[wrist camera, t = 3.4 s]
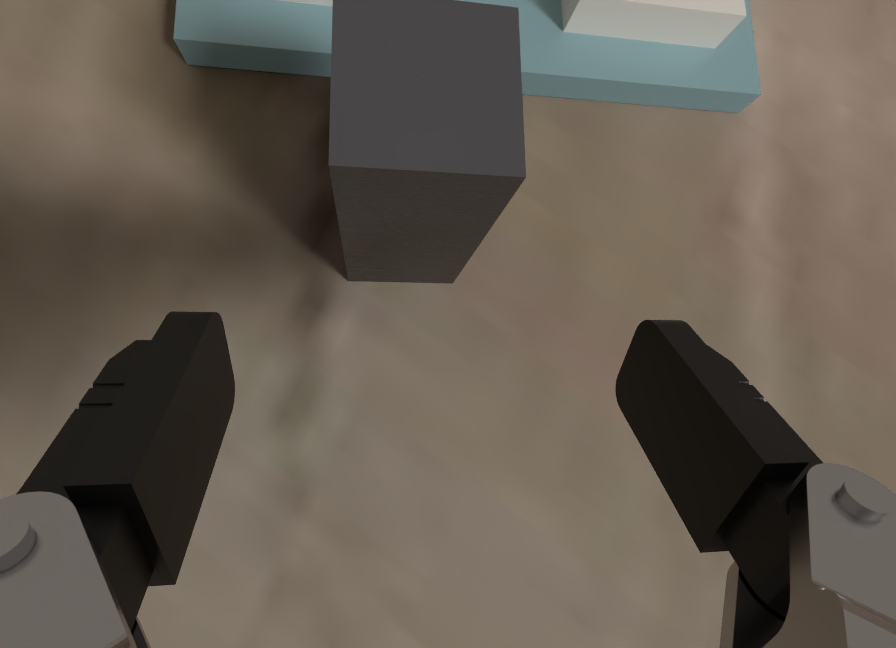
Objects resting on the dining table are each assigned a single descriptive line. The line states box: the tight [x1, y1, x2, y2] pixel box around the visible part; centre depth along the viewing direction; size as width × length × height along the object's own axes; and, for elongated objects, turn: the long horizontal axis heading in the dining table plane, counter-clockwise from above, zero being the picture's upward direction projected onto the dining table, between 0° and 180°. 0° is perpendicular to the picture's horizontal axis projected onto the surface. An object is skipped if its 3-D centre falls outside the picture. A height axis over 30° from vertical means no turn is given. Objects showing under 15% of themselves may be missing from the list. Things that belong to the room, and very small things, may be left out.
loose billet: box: [329, 0, 526, 283], centre depth 16 cm, size 4×5×10 cm
